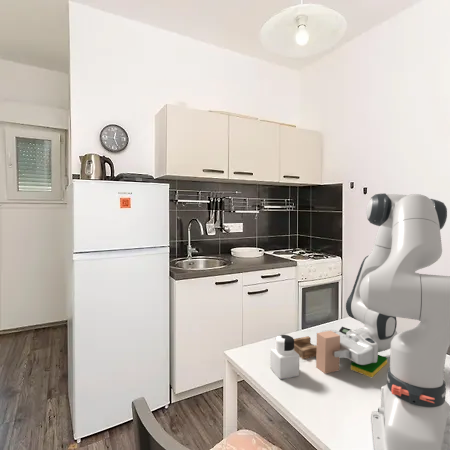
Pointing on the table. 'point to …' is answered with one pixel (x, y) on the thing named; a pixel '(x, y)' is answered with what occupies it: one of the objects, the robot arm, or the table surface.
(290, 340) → the medicine bottle
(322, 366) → the clay block
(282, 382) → the table surface
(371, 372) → the dish sponge
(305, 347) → the tray
